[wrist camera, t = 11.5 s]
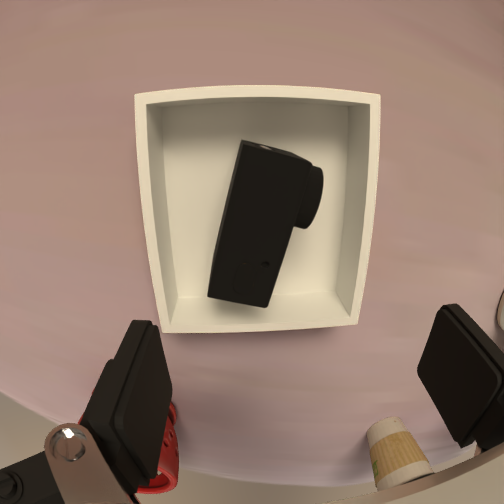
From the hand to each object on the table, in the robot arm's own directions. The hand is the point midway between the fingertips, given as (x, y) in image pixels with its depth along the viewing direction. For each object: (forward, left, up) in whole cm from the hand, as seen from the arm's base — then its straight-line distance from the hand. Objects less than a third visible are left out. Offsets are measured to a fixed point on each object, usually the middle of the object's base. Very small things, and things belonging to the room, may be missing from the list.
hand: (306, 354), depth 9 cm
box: (0, 0, -19) cm, 19 cm away
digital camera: (0, 0, -18) cm, 18 cm away
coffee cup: (-21, +37, -19) cm, 46 cm away
